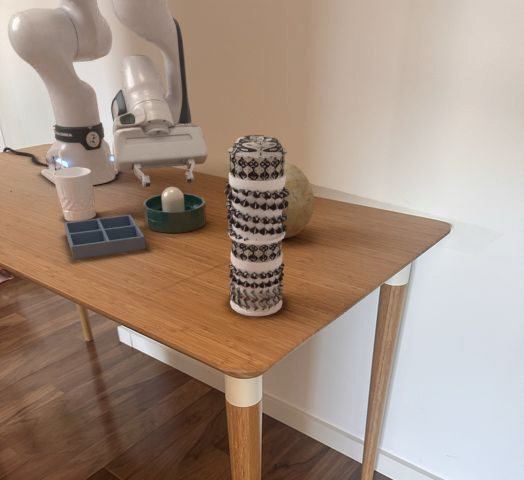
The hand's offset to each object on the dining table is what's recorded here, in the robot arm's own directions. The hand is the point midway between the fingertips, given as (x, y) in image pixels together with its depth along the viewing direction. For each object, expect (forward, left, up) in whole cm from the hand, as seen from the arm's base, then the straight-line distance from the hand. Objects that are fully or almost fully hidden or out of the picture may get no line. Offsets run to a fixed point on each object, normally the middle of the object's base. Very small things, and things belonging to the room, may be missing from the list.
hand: (168, 183), depth 107 cm
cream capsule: (+2, -1, -8) cm, 8 cm away
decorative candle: (+39, -15, -9) cm, 43 cm away
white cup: (-17, -13, -9) cm, 23 cm away
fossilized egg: (+23, +10, -9) cm, 27 cm away
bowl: (+2, -1, -8) cm, 9 cm away
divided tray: (+1, -18, -8) cm, 19 cm away
